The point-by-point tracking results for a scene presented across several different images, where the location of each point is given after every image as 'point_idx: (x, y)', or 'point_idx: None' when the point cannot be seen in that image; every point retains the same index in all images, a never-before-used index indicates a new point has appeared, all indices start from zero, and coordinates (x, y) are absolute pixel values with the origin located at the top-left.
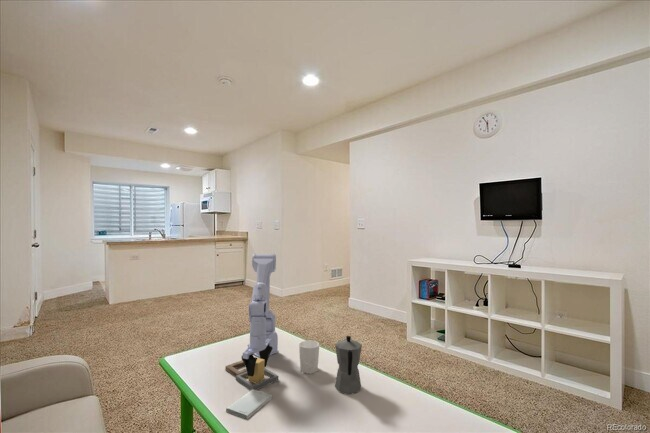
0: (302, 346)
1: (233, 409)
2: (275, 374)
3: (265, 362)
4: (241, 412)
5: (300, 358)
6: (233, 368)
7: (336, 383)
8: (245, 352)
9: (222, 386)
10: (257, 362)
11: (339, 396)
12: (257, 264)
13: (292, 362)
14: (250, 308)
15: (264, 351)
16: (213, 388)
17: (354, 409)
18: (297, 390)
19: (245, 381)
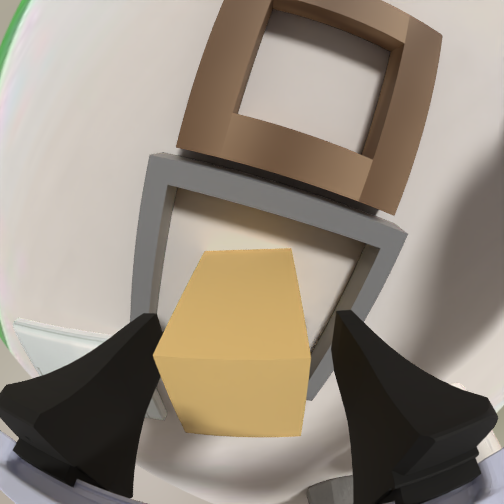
0: (490, 453)
1: (26, 349)
2: (320, 384)
3: (341, 381)
4: (41, 375)
5: None
6: (244, 32)
7: (327, 491)
8: (4, 480)
9: (66, 150)
10: (205, 422)
11: (290, 489)
12: None
13: (493, 324)
14: None
15: (369, 465)
16: (36, 128)
17: (257, 501)
18: (265, 448)
19: (136, 287)
